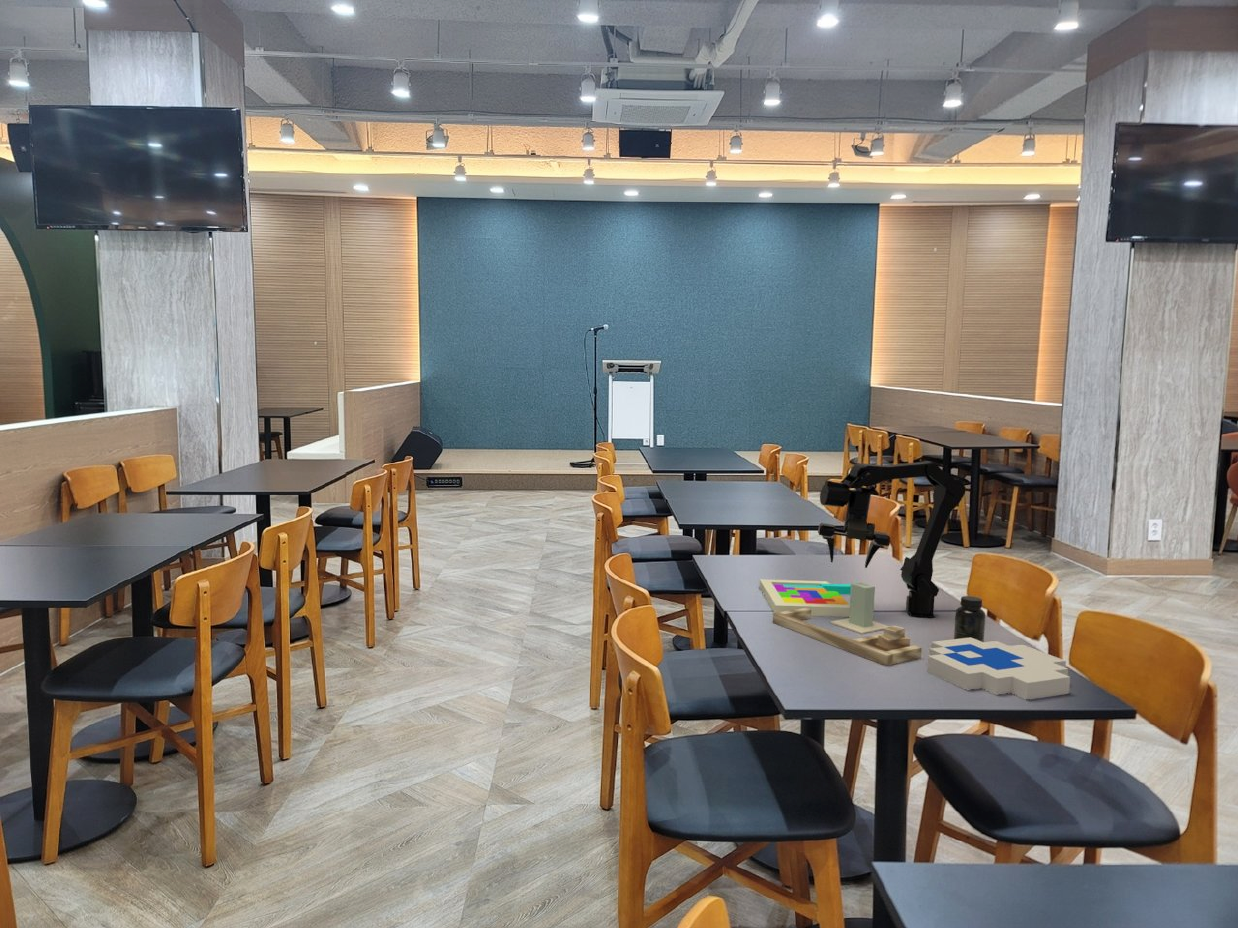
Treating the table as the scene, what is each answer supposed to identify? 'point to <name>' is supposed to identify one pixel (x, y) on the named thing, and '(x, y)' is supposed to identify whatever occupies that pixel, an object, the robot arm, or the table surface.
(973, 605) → the supplement bottle
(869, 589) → the tall green pillar
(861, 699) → the table surface
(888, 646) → the offcut oak
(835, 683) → the table surface
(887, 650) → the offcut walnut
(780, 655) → the table surface
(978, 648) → the pixel art tile
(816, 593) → the puzzle game
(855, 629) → the mat
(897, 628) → the offcut maple
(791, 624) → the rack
